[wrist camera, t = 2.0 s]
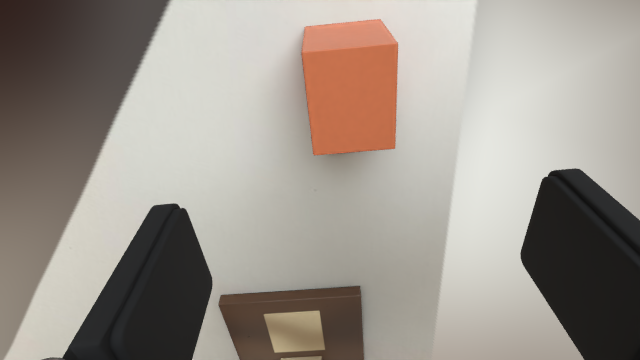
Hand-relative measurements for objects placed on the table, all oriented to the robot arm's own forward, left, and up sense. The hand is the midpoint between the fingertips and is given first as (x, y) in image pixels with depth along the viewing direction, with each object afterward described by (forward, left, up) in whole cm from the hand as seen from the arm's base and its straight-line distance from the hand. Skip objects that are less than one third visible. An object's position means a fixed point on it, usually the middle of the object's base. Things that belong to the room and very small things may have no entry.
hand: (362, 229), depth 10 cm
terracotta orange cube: (0, 0, -13) cm, 13 cm away
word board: (+15, +26, -13) cm, 32 cm away
